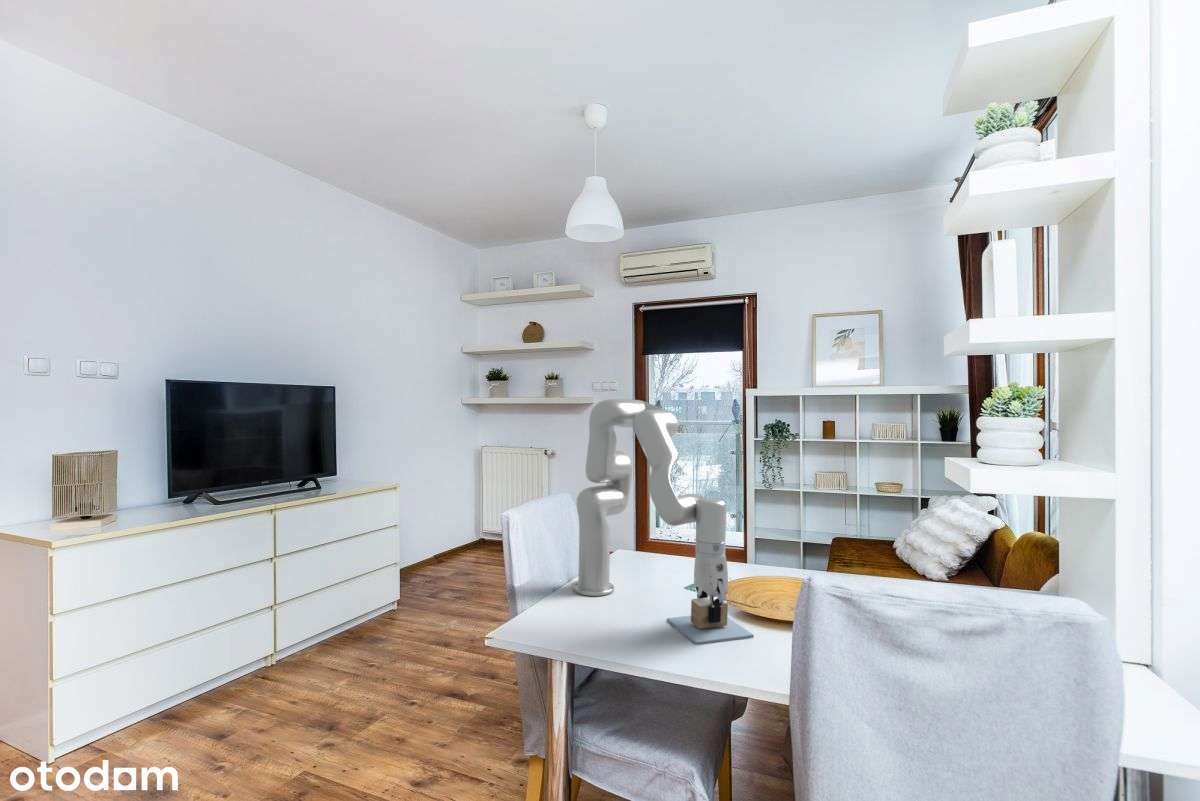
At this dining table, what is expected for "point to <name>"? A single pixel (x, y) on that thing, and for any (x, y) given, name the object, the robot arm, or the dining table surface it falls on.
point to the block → (706, 613)
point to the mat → (709, 631)
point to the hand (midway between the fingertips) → (708, 617)
